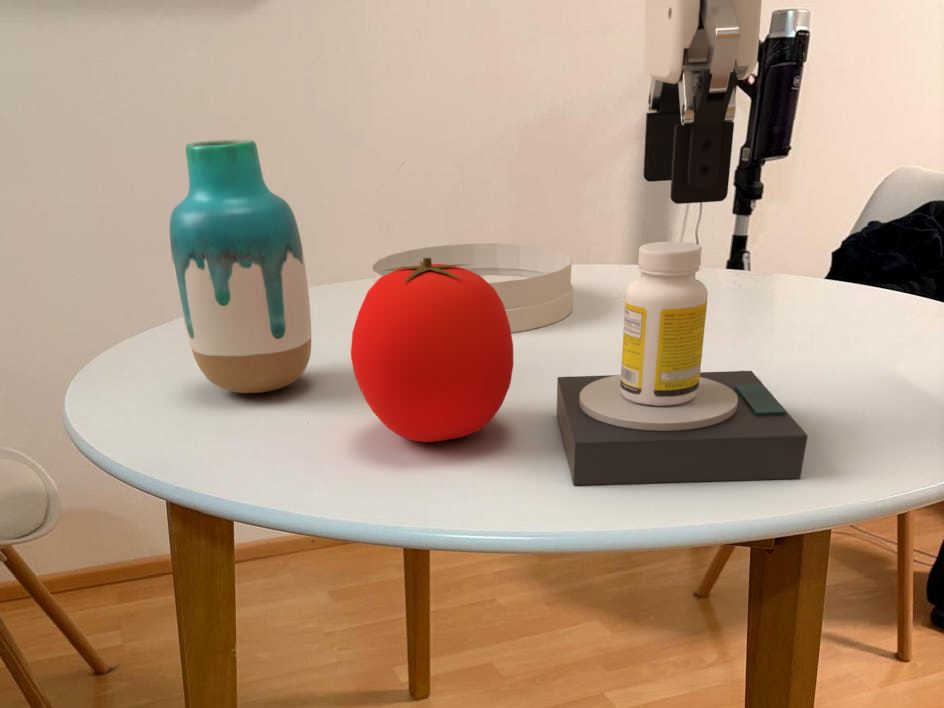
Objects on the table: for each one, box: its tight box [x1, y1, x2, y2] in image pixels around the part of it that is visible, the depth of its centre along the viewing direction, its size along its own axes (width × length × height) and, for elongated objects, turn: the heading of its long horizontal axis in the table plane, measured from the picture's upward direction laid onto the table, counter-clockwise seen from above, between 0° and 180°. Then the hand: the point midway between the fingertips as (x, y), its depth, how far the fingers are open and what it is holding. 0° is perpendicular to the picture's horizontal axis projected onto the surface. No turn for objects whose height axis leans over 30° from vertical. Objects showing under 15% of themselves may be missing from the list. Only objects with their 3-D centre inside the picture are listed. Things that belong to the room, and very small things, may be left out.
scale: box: [556, 370, 809, 486], centre depth 65 cm, size 15×14×4 cm
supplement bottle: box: [620, 241, 708, 406], centre depth 62 cm, size 5×5×10 cm
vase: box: [169, 139, 312, 394], centre depth 75 cm, size 11×11×19 cm
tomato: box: [350, 258, 514, 443], centre depth 66 cm, size 12×12×13 cm
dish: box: [372, 243, 574, 334], centre depth 100 cm, size 22×22×5 cm
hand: (681, 189), depth 57 cm, fingers open, 9 cm apart
